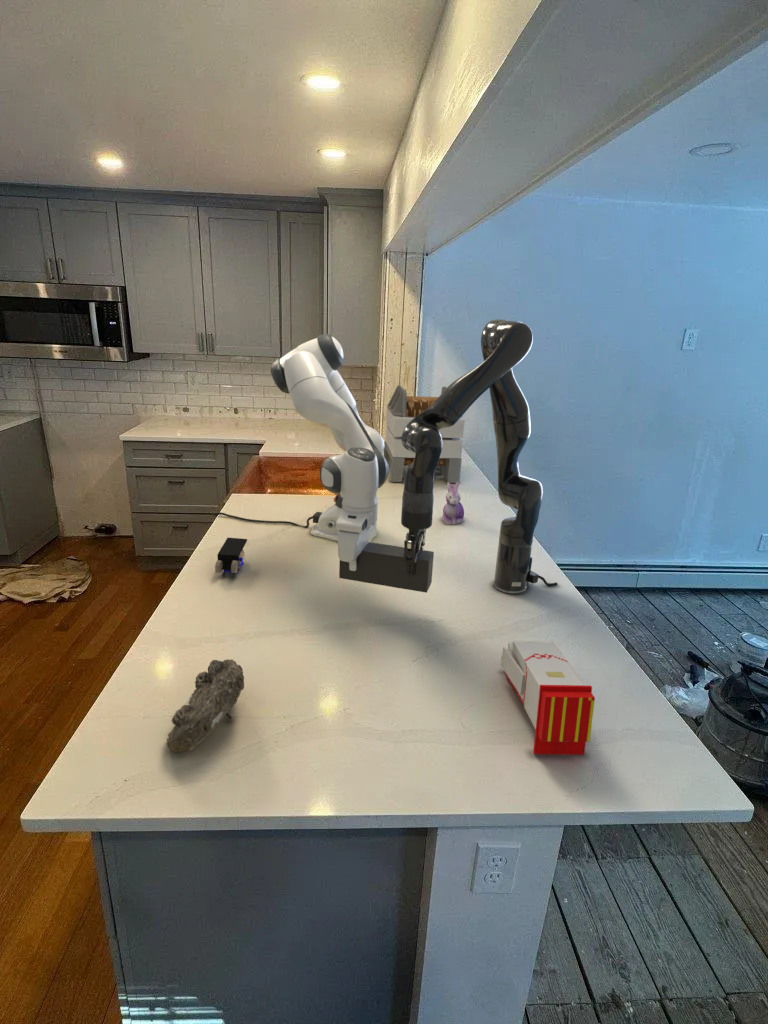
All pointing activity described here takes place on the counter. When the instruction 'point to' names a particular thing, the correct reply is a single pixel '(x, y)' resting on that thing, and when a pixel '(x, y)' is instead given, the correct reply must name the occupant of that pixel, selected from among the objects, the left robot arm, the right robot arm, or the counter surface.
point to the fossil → (206, 705)
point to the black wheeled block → (230, 556)
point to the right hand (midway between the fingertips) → (413, 569)
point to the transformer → (397, 456)
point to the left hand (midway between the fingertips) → (358, 563)
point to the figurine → (453, 506)
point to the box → (389, 568)
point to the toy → (550, 696)
